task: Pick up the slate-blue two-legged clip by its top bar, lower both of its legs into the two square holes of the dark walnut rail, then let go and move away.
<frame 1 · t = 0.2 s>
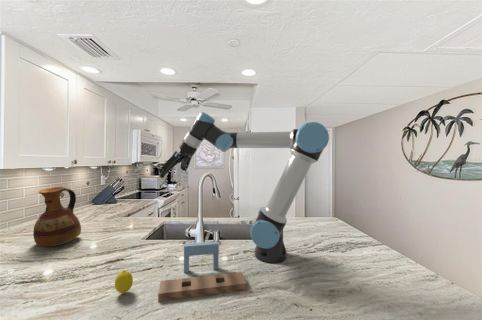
hand: (167, 181, 111), 35 cm above the countertop, tool tilted 35°, fingers open, 13 cm apart
ceramic pitcher: (58, 242, 126), on the countertop
clip: (201, 269, 98), on the countertop
lemon: (124, 294, 81), on the countertop
rail: (203, 288, 84), on the countertop
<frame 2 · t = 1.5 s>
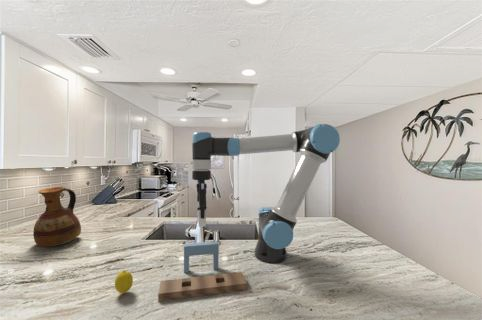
hand: (201, 221, 97), 20 cm above the countertop, tool pointing down, fingers open, 13 cm apart
nothing on the countertop moved.
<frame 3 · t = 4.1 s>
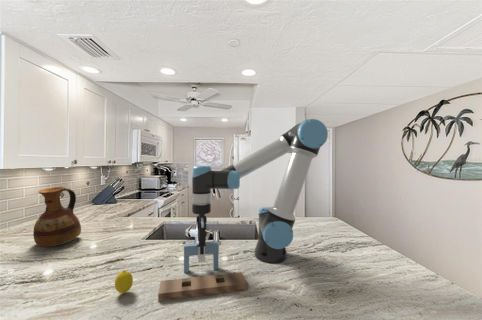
hand: (201, 259, 98), 5 cm above the countertop, tool pointing down, fingers closed on clip, 3 cm apart
clip: (201, 269, 98), on the countertop, touching gripper
everything else where it was.
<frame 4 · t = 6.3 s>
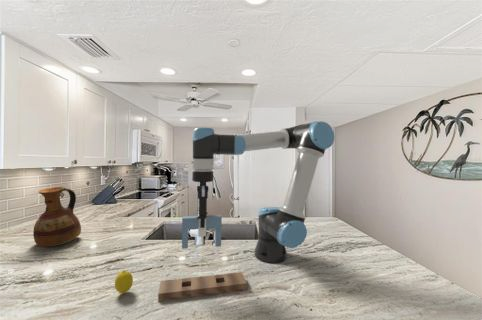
hand: (202, 234, 86), 19 cm above the countertop, tool pointing down, fingers closed on clip, 3 cm apart
clip: (201, 246, 87), point 14 cm above the countertop, touching gripper
everything else where it was.
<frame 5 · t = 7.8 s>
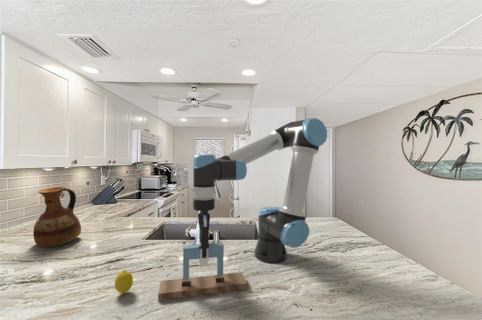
hand: (203, 263, 84), 9 cm above the countertop, tool pointing down, fingers closed on clip, 3 cm apart
clip: (203, 275, 84), point 5 cm above the countertop, touching gripper
everything else where it was.
when the fingers open (6 cm above the countertop, at t = 8.7 s): clip drops 1 cm, resting in rail.
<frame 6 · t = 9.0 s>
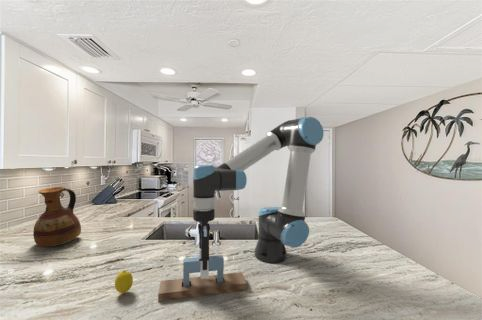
hand: (203, 272, 84), 6 cm above the countertop, tool pointing down, fingers open, 7 cm apart
clip: (203, 288, 84), resting in rail
everything else where it was.
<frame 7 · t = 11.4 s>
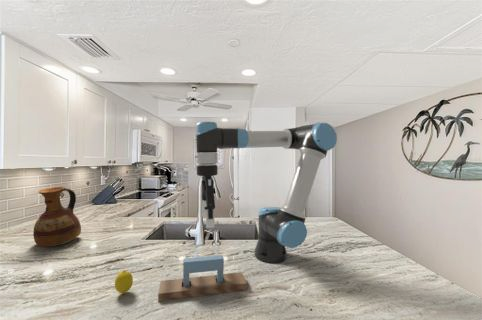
hand: (208, 222, 87), 23 cm above the countertop, tool pointing down, fingers open, 13 cm apart
nothing on the countertop moved.
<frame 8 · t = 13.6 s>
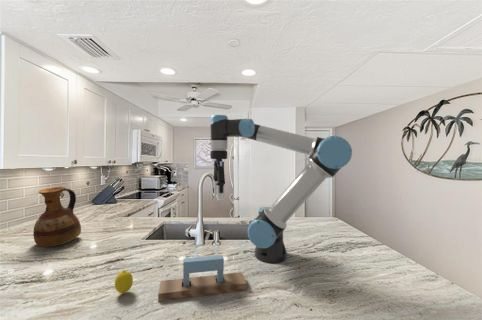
hand: (218, 197, 106), 29 cm above the countertop, tool pointing down, fingers open, 13 cm apart
nothing on the countertop moved.
at the end: clip 0.0 cm off-centre on the rail, point 0.0 cm above the rail's base; clip tilted 0°; the gripper is holding nothing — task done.
